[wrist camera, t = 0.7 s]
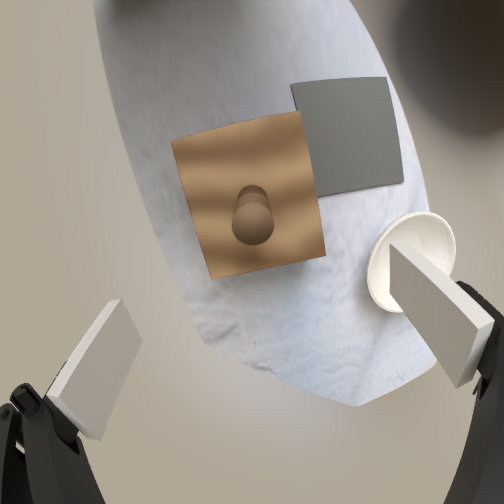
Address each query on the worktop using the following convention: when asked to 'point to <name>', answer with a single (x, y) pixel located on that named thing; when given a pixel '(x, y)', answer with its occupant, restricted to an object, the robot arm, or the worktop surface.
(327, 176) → the mat
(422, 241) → the bowl
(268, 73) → the worktop surface
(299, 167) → the wooden block with knob
